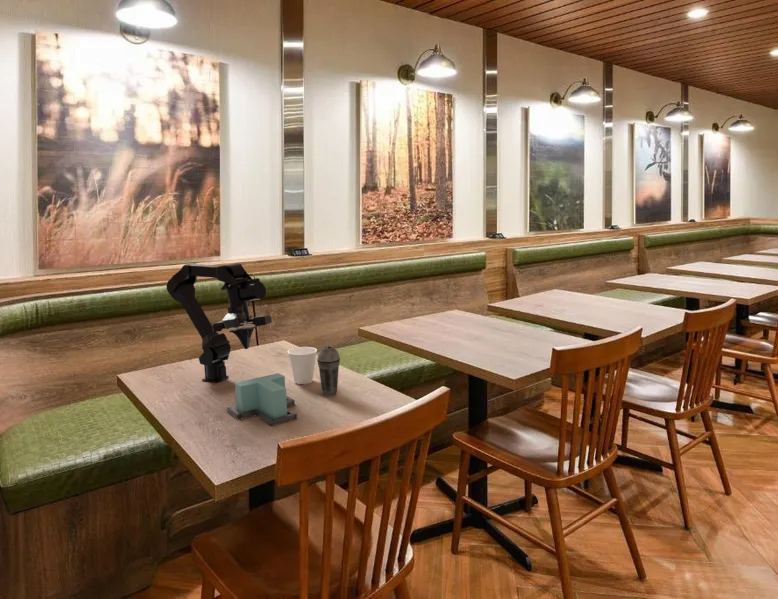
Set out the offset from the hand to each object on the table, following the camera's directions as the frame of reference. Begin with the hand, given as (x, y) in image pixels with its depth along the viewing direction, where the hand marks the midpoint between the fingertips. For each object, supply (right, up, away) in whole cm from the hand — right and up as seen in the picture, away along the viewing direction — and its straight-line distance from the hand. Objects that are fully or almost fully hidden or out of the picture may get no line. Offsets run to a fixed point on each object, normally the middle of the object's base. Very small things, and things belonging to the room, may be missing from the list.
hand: (246, 348), depth 190 cm
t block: (+12, -17, -22) cm, 30 cm away
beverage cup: (+28, -14, -7) cm, 32 cm away
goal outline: (+12, -17, -22) cm, 30 cm away
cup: (+18, -12, +6) cm, 22 cm away
